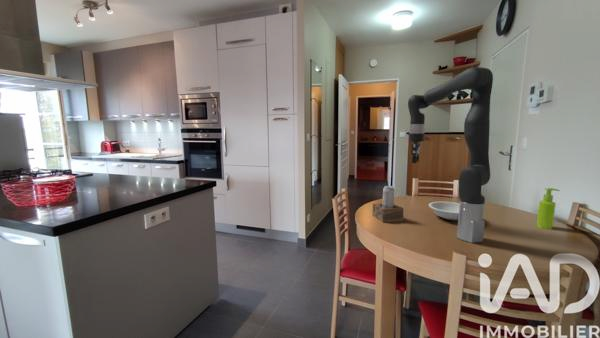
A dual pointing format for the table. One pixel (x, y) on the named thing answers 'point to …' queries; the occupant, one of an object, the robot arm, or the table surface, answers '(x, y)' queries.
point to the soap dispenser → (546, 210)
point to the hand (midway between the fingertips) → (415, 162)
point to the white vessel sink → (446, 209)
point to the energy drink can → (388, 197)
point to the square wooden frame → (387, 213)
